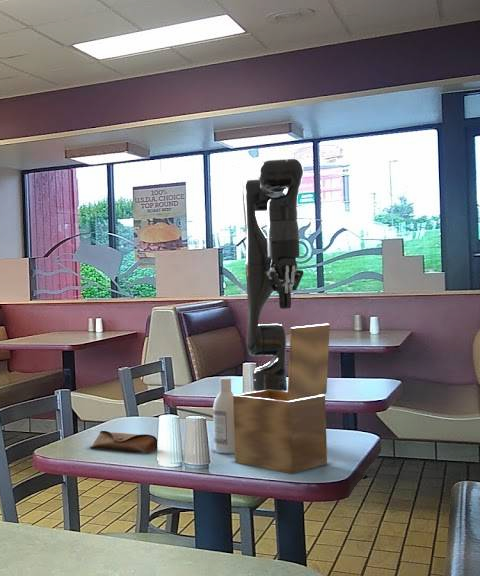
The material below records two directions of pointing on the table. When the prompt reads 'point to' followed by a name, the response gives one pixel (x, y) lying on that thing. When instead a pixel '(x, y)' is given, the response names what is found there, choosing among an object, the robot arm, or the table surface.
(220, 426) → the bath foam
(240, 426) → the chest
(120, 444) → the sunglasses case
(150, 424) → the table surface
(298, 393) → the chest lid
